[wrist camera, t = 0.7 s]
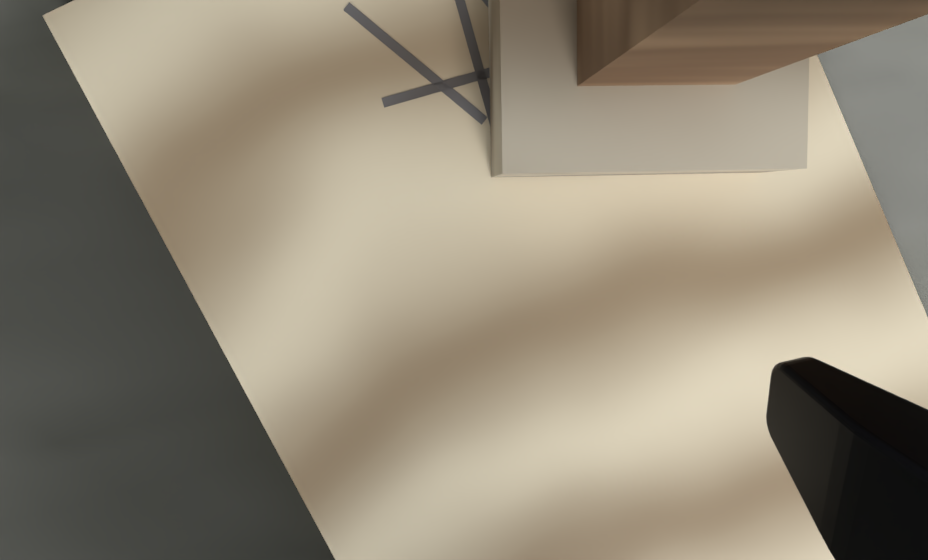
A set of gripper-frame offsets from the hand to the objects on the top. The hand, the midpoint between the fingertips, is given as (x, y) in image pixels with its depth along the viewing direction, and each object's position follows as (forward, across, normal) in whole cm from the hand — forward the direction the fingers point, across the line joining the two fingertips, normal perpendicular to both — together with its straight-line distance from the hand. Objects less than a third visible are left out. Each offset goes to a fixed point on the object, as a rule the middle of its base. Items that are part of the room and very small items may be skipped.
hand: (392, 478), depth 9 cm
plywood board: (+11, -5, +7) cm, 14 cm away
